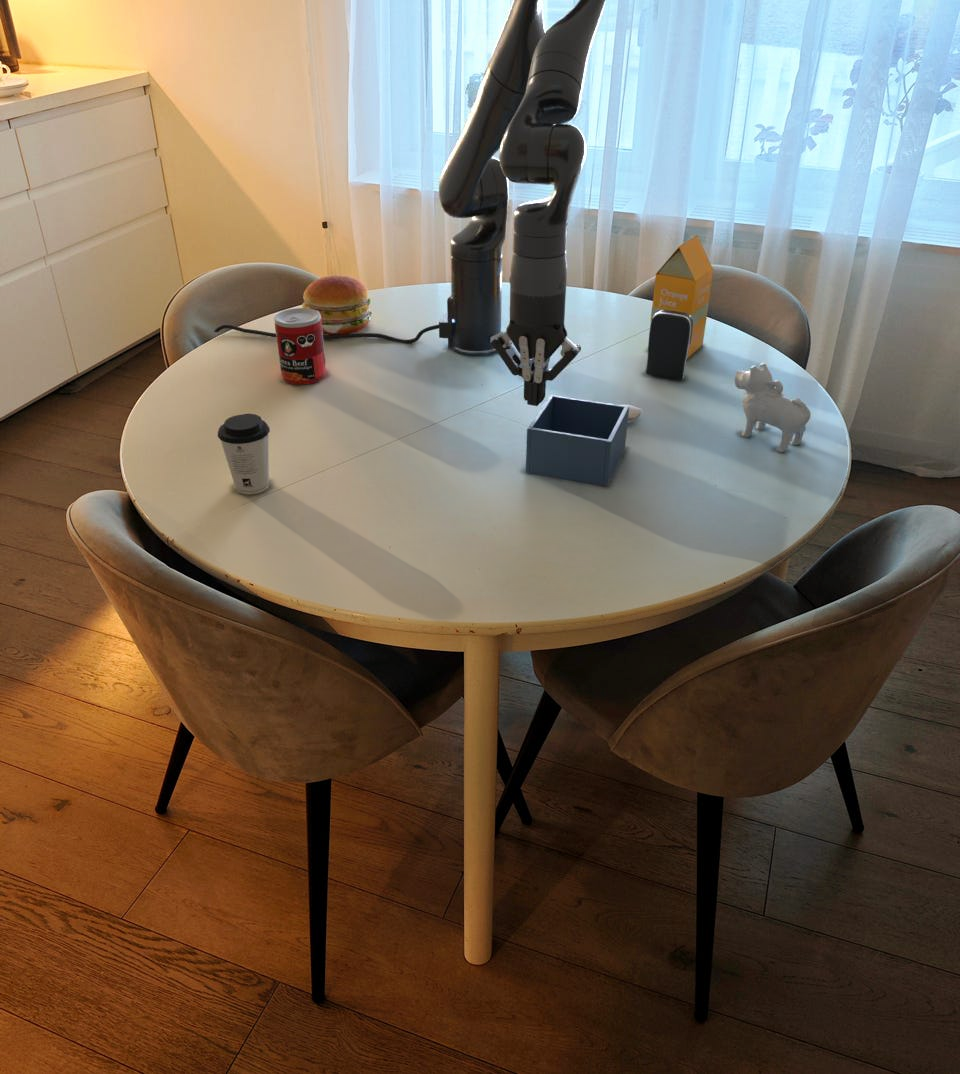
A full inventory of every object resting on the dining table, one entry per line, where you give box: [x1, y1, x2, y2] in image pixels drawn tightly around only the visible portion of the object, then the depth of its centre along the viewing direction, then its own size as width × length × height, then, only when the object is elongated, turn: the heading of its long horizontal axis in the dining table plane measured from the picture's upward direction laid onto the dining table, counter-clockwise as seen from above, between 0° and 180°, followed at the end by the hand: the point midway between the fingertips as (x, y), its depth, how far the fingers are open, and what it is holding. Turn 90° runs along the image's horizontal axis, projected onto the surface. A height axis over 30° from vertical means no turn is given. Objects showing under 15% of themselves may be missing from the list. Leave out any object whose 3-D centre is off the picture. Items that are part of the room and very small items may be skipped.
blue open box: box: [525, 394, 629, 487], centre depth 132 cm, size 7×12×12 cm
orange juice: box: [650, 235, 715, 359], centre depth 164 cm, size 8×9×20 cm
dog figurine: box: [734, 362, 811, 453], centre depth 137 cm, size 5×13×11 cm, turn 40°
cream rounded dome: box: [620, 403, 643, 424], centre depth 144 cm, size 4×5×2 cm
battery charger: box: [645, 310, 693, 381], centre depth 156 cm, size 7×4×11 cm, turn 65°
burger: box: [301, 274, 373, 335], centre depth 176 cm, size 14×14×10 cm
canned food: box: [273, 307, 327, 386], centre depth 156 cm, size 8×8×11 cm
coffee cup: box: [217, 412, 271, 496], centre depth 124 cm, size 7×7×10 cm
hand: (534, 403), depth 131 cm, fingers closed
